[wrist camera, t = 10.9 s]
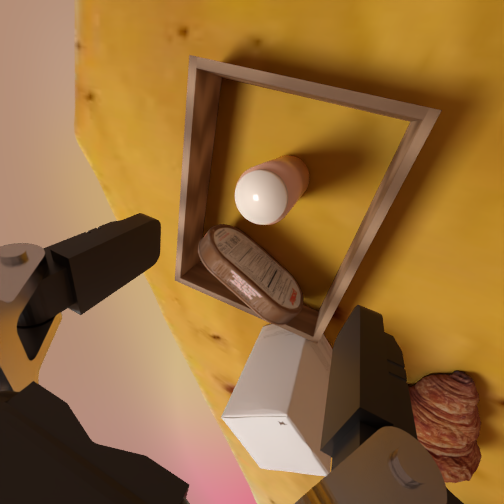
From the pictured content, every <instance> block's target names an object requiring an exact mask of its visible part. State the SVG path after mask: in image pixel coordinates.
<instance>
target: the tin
mask: <svg viewBox="0 0 504 504" xmlns="http://www.w3.org/2000/svg"><path fill="white" fill-rule="evenodd" d="M198 253H199V256H200V259H201V261H202V263H203V264H204V266H205V267H206V268H207V269H208V270H209V272H210V273H212V274H213V275H214V276H215V277H216V278H217V279H218V280H219V281H221V282H222V283H223V284H224V285H225V286H226V287H227V288H228V289H230V290H231V291H232V292H233V293H234V294H235V295H236V296H237V297H238V298H240V299H241V300H242V301H243V302H244V303H245V304H246V305H247V306H248V307H250V308H251V309H252V310H253V311H254V312H255V313H256V314H257V315H259V316H260V317H261V318H262V319H264V320H265V321H267V322H269V323H272V324H275V325H285V324H287V323H289V322H290V321H291V319H292V318H294V317H295V316H296V315H298V314H299V313H300V312H301V310H302V308H303V294H302V291H301V289H300V287H299V285H298V283H297V282H296V280H295V279H294V278H293V276H292V275H291V274H290V273H289V272H288V271H287V270H286V269H285V268H284V267H282V266H281V265H280V264H279V263H278V262H277V261H276V260H275V259H274V258H272V257H271V256H270V255H269V254H268V253H267V252H266V251H265V250H264V249H262V248H261V247H260V246H259V245H258V244H257V243H256V242H255V241H253V240H252V239H251V238H250V237H249V236H248V235H246V234H245V233H244V232H242V231H241V230H239V229H237V228H235V227H233V226H230V225H225V224H220V225H216V226H213V227H211V228H210V229H209V230H208V232H207V233H206V234H205V236H204V237H203V238H202V239H201V240H200V242H199V244H198Z"/></svg>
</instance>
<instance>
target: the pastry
mask: <svg viewBox="0 0 504 504" xmlns="http://www.w3.org/2000/svg"><path fill="white" fill-rule="evenodd" d="M408 388H409V394H410V399H411V405H412V410H413V416H414V422H415V427H416V433H417V438H418V441H419V442H420V443H421V444H422V445H423V446H424V447H425V449H426V450H427V451H428V452H429V454H430V455H431V456H432V458H433V459H434V461H435V462H436V464H437V466H438V468H439V470H440V472H441V474H442V476H443V479H444V482H453V483H457V482H461V481H465V480H467V481H469V480H470V479H471V477H472V475H473V473H474V472H475V471H476V470H477V468H478V466H479V463H480V459H481V453H480V448H479V446H478V444H477V441H476V439H477V438H478V436H479V431H480V425H481V421H480V417H479V413H478V407H477V403H478V402H479V401H480V400H479V394H478V392H477V390H476V386H475V383H474V381H473V379H472V378H471V377H470V376H468V375H467V374H465V372H461V371H454V372H453V373H452V374H434V375H428V376H426V377H423V378H422V379H421V380H420V381H417V383H416V385H413V386H408Z"/></svg>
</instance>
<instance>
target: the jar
mask: <svg viewBox="0 0 504 504" xmlns="http://www.w3.org/2000/svg"><path fill="white" fill-rule="evenodd" d="M309 180H310V176H309V171H308V168H307V166H306V165H305V163H304V162H303V161H302V160H300V159H299V158H297V157H295V156H290V155H287V156H282V157H279V158H276V159H273V160H271V161H268V162H265V163H262V164H260V165H257V166H254V167H252V168H250V169H248V170H246V171H245V172H244V173H243V174H242V175H241V177H240V178H239V180H238V182H237V186H236V190H235V202H236V205H237V208H238V210H239V211H240V213H241V214H242V215H243V216H244V217H245V218H246V219H247V220H249V221H250V222H252V223H255V224H260V225H270V224H274V223H277V222H278V221H280V220H281V219H283V218H284V217H285V216H286V215H287V213H288V212H289V211H290V210H291V208H292V207H293V206H294V205H295V203H296V202H297V201H298V200H299V198H300V197H301V196H302V195H303V194H304V192H305V191H306V189H307V187H308V185H309Z"/></svg>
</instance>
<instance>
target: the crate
mask: <svg viewBox="0 0 504 504" xmlns="http://www.w3.org/2000/svg"><path fill="white" fill-rule="evenodd" d="M222 78H226V79H230V80H234V81H239V82H243V83H247V84H252V85H256V86H260V87H264V88H269V89H273V90H277V91H282V92H286V93H290V94H294V95H299V96H303V97H307V98H312V99H316V100H320V101H324V102H329V103H333V104H337V105H341V106H346V107H350V108H354V109H359V110H363V111H367V112H371V113H376V114H380V115H384V116H389V117H393V118H397V119H401V120H406V121H410V124H409V126H408V128H407V130H406V132H405V134H404V137H403V139H402V141H401V143H400V145H399V147H398V149H397V151H396V153H395V155H394V157H393V159H392V161H391V163H390V165H389V167H388V169H387V172H386V174H385V176H384V178H383V180H382V182H381V184H380V186H379V188H378V190H377V192H376V194H375V196H374V198H373V200H372V202H371V205H370V207H369V209H368V211H367V213H366V215H365V217H364V219H363V221H362V223H361V225H360V227H359V229H358V231H357V233H356V235H355V238H354V240H353V242H352V244H351V246H350V248H349V250H348V252H347V254H346V256H345V258H344V260H343V262H342V264H341V266H340V268H339V270H338V273H337V275H336V277H335V279H334V281H333V283H332V285H331V287H330V289H329V291H328V293H327V295H326V297H325V299H324V301H323V303H322V306H321V308H320V310H319V311H316V310H314V309H311V308H309V307H307V306H304V305H303V308H302V310H301V312H300V313H299V314H298V315H296V316H295V317H294V318H292V319H291V321H290V322H289V323H287V324H285V325H276V326H278V327H281V328H283V329H285V330H287V331H290V332H292V333H294V334H296V335H299V336H301V337H303V338H305V339H308V340H310V341H312V342H314V343H317V344H318V342H319V340H320V338H321V336H322V334H323V333H324V331H325V329H326V327H327V325H328V323H329V321H330V319H331V318H332V316H333V314H334V312H335V310H336V308H337V306H338V304H339V302H340V301H341V299H342V297H343V295H344V293H345V291H346V289H347V287H348V286H349V284H350V282H351V280H352V278H353V276H354V274H355V272H356V270H357V269H358V267H359V265H360V263H361V261H362V259H363V257H364V255H365V254H366V252H367V250H368V248H369V246H370V244H371V242H372V240H373V239H374V237H375V235H376V233H377V231H378V229H379V227H380V225H381V223H382V222H383V220H384V218H385V216H386V214H387V212H388V210H389V208H390V207H391V205H392V203H393V201H394V199H395V197H396V195H397V193H398V191H399V190H400V188H401V186H402V184H403V182H404V180H405V178H406V176H407V175H408V173H409V171H410V169H411V167H412V165H413V163H414V161H415V160H416V158H417V156H418V154H419V152H420V150H421V148H422V146H423V144H424V143H425V141H426V139H427V137H428V135H429V133H430V131H431V129H432V128H433V126H434V124H435V122H436V120H437V118H438V116H439V114H440V112H441V111H442V110H438V109H433V108H429V107H424V106H420V105H415V104H410V103H406V102H401V101H397V100H392V99H388V98H383V97H378V96H374V95H369V94H365V93H360V92H356V91H351V90H347V89H342V88H337V87H333V86H328V85H324V84H319V83H315V82H310V81H305V80H301V79H296V78H292V77H287V76H283V75H278V74H273V73H269V72H264V71H260V70H255V69H251V68H246V67H241V66H237V65H232V64H228V63H223V62H219V61H214V60H209V59H205V58H200V57H196V56H191V55H189V70H188V86H187V101H186V117H185V132H184V148H183V163H182V179H181V194H180V210H179V225H178V241H177V256H176V272H175V281H178V282H180V283H182V284H184V285H187V286H189V287H191V288H193V289H196V290H198V291H200V292H202V293H205V294H207V295H209V296H211V297H213V298H216V299H218V300H220V301H222V302H225V303H227V304H229V305H231V306H234V307H236V308H238V309H240V310H243V311H245V312H247V313H249V314H252V315H254V316H256V317H258V318H261V317H260V316H259V315H257V314H256V313H255V312H254V311H253V310H252V309H251V308H250V307H248V306H247V305H246V304H245V303H244V302H243V301H242V300H241V299H240V298H238V297H237V296H236V295H235V294H234V293H233V292H232V291H231V290H230V289H228V288H227V287H226V286H225V285H224V284H223V283H222V282H221V281H219V280H218V279H217V278H216V277H215V276H214V275H213V274H212V273H210V272H209V270H208V269H207V268H206V267H205V266H204V264H203V263H201V262H199V260H200V256H199V253H198V244H199V242H200V240H201V239H202V236H203V227H204V219H205V211H206V203H207V195H208V187H209V179H210V171H211V162H212V154H213V146H214V138H215V130H216V122H217V114H218V105H219V97H220V89H221V81H222ZM261 319H262V318H261ZM263 320H264V319H263ZM274 325H275V324H274Z"/></svg>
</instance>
